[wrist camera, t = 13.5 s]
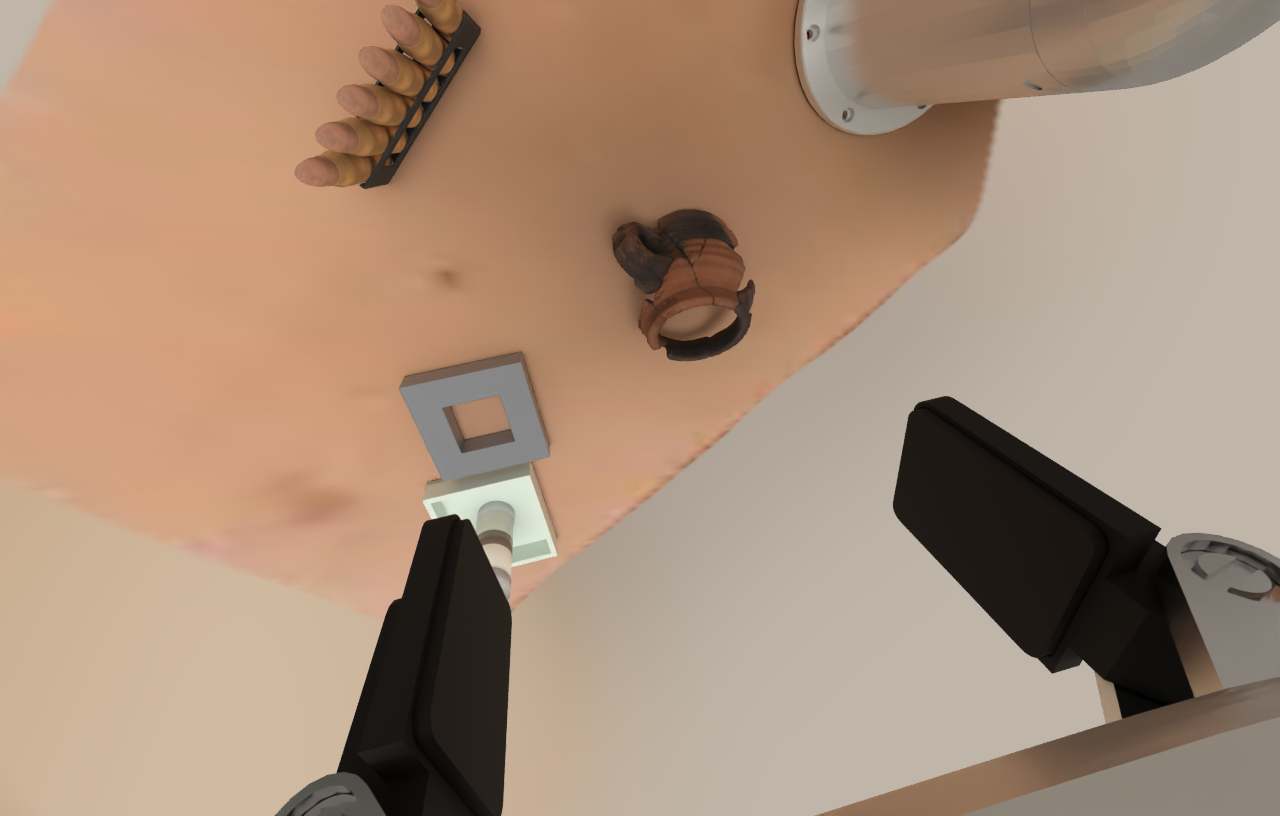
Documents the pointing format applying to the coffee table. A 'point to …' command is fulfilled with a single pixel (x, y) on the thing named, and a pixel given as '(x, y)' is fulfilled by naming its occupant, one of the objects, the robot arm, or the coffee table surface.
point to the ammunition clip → (392, 96)
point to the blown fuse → (497, 539)
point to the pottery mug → (686, 278)
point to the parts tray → (508, 486)
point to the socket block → (469, 383)
